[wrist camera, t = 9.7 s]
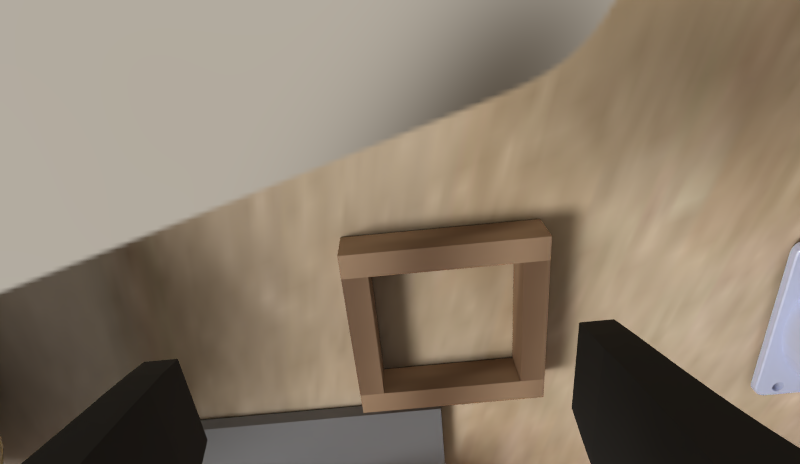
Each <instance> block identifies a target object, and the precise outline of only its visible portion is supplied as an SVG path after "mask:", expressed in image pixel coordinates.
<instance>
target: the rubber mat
mask: <svg viewBox="0 0 800 464" xmlns="http://www.w3.org/2000/svg"><path fill="white" fill-rule="evenodd" d="M200 421H201V423H202V426H203V429H204V432H205V434H206V437H207V440H208V441H207V445H206V449H205V454H204V458H203V462H202V464H445V460H444V446H443V432H442V418H441V406H435V407H424V408H413V409H402V410H390V411H379V412H368V413H363V407H362V406H355V407H344V408H333V409H321V410H310V411H299V412H288V413H277V414H265V415H254V416H243V417H232V418H221V419H209V420H200Z"/></svg>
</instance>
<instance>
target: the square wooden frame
mask: <svg viewBox="0 0 800 464" xmlns="http://www.w3.org/2000/svg"><path fill="white" fill-rule="evenodd" d="M551 245H552V236H551V234H550V233H549V231H548V230H547V228H546V227H545V225H544V224H543V222H542V221H541V219H533V220H523V221H512V222H501V223H491V224H480V225H469V226H459V227H448V228H437V229H426V230H416V231H405V232H394V233H384V234H373V235H362V236H352V237H341V238H340V244H339V250H338V256H337V257H338V263H339V269H340V275H341V281H342V287H343V293H344V299H345V305H346V311H347V317H348V323H349V329H350V335H351V341H352V347H353V353H354V359H355V365H356V371H357V377H358V383H359V389H360V395H361V401H362V407H363V413H368V412H379V411H390V410H402V409H413V408H424V407H435V406H447V405H458V404H469V403H480V402H492V401H503V400H514V399H525V398H537V397H543V395H544V376H545V357H546V339H547V320H548V301H549V282H550V264H551ZM505 264H514V284H513V350H512V358H502V359H491V360H480V361H469V362H458V363H447V364H436V365H425V366H413V367H402V368H391V369H384V365H383V358H382V350H381V343H380V335H379V328H378V320H377V313H376V306H375V298H374V291H373V283H372V277H375V276H385V275H396V274H407V273H418V272H429V271H440V270H450V269H461V268H472V267H483V266H494V265H505Z"/></svg>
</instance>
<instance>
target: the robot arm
mask: <svg viewBox="0 0 800 464" xmlns="http://www.w3.org/2000/svg"><path fill="white" fill-rule="evenodd" d="M751 387H752V389H753V390H754V391H755V392H756V393H757V394H759V395H771V394H782V393H794V392H800V242H798V243H797V244H795V245H794V246H793V247H792V249H791V251H790V254H789V257H788V261H787V264H786V267H785V271H784V274H783V277H782V281H781V284H780V288H779V291H778V294H777V298H776V301H775V304H774V308H773V311H772V314H771V318H770V321H769V324H768V328H767V331H766V334H765V338H764V341H763V344H762V348H761V351H760V355H759V358H758V361H757V365H756V368H755V371H754V375H753V378H752V381H751ZM572 410H573V413H574V416H575V419H576V422H577V425H578V428H579V431H580V434H581V437H582V440H583V443H584V446H585V449H586V452H587V454H588V457H589V460H590V463H591V464H800V448H798V447H797V446H795V445H794V444H792V443H791V442H789V441H787V440H786V439H784V438H783V437H781V436H780V435H778V434H776V433H775V432H773V431H772V430H770V429H769V428H767V427H765V426H764V425H762V424H761V423H759V422H758V421H756V420H755V419H753V418H752V417H750V416H749V415H747V414H746V413H744V412H743V411H741V410H740V409H738V408H737V407H735V406H734V405H733V404H731V403H730V402H728V401H727V400H725V399H724V398H722V397H721V396H719V395H718V394H717V393H715V392H714V391H712V390H711V389H710V388H708V387H707V386H705V385H704V384H702V383H701V382H700V381H698V380H697V379H695V378H694V377H693V376H691V375H690V374H688V373H687V372H686V371H684V370H683V369H682V368H680V367H679V366H677V365H676V364H675V363H673V362H672V361H671V360H669V359H668V358H666V357H665V356H664V355H662V354H661V353H660V352H658V351H657V350H656V349H654V348H653V347H652V346H650V345H649V344H647V343H646V342H645V341H643V340H642V339H641V338H639V337H638V336H637V335H635V334H634V333H632V332H631V331H630V330H628V329H627V328H626V327H624V326H623V325H621V324H620V323H618V322H617V321H615V320H614V319H613V320H602V321H591V322H580V323H579V333H578V344H577V355H576V367H575V378H574V389H573V400H572ZM207 441H208V440H207V437H206V434H205V432H204V429H203V426H202V423H201V421H200V418H199V415H198V413H197V410H196V407H195V405H194V402H193V399H192V396H191V394H190V391H189V388H188V386H187V383H186V380H185V378H184V375H183V372H182V369H181V367H180V364H179V361H178V359H173V360H162V361H151V362H144V363H142V364H141V365H140V366H138V367H137V368H136V369H134V370H133V371H132V372H131V373H129V374H128V375H127V376H125V377H124V378H123V379H122V380H121V381H119V382H118V383H117V384H116V385H115V386H113V387H112V388H111V389H110V390H109V391H107V392H106V393H105V394H104V395H103V396H101V397H100V398H99V399H98V400H97V401H96V402H94V403H93V404H92V405H91V406H90V407H88V408H87V409H86V410H85V411H84V412H83V413H81V414H80V415H79V416H78V417H77V418H75V419H74V420H73V421H72V422H71V423H70V424H68V425H67V426H66V427H65V428H64V429H62V430H61V431H60V432H59V433H58V434H56V435H55V436H54V437H53V438H52V439H50V440H49V441H48V442H47V443H46V444H44V445H43V446H42V447H41V448H40V449H39V450H37V451H36V452H35V453H34V454H33V455H31V456H30V457H29V458H28V459H27V460H25V461H24V462H23V463H22V464H202V462H203V458H204V454H205V449H206V445H207Z"/></svg>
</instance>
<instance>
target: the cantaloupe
mask: <svg viewBox="0 0 800 464" xmlns="http://www.w3.org/2000/svg"><path fill="white" fill-rule="evenodd" d="M0 464H3V443H2V440H1V436H0Z"/></svg>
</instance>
